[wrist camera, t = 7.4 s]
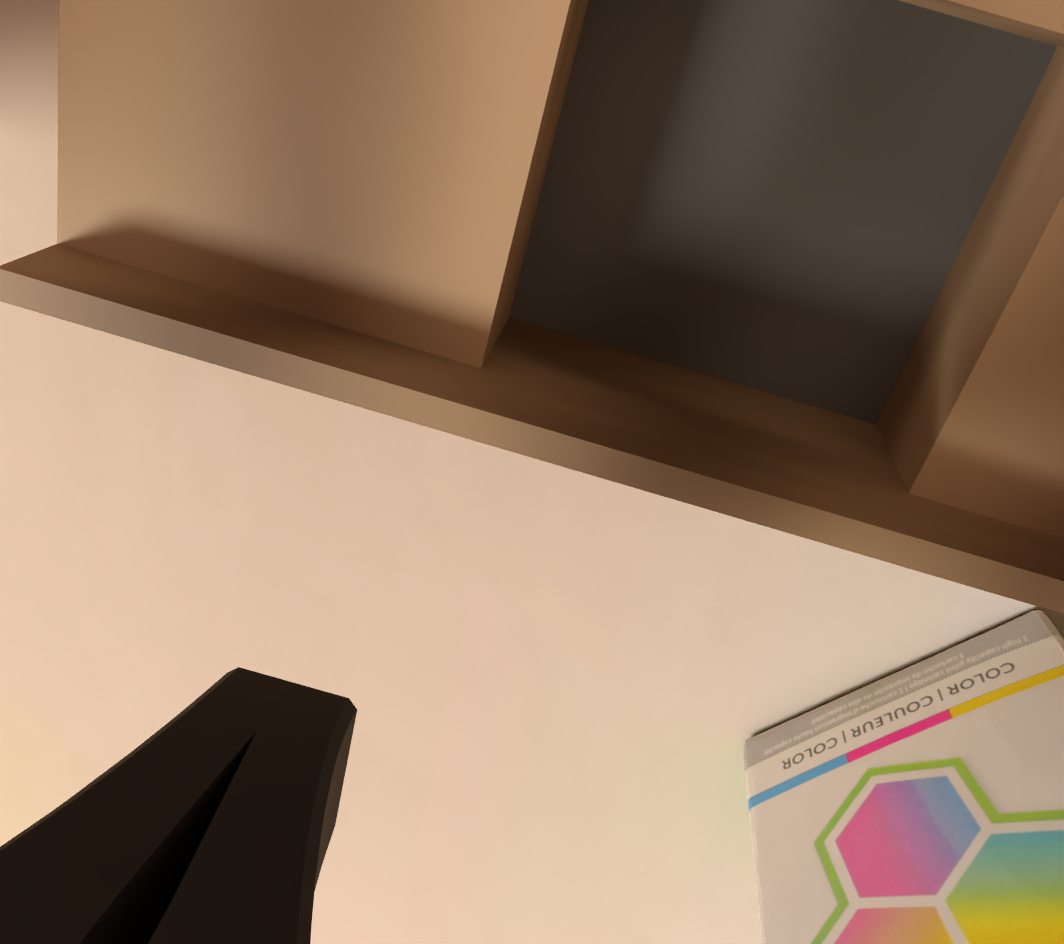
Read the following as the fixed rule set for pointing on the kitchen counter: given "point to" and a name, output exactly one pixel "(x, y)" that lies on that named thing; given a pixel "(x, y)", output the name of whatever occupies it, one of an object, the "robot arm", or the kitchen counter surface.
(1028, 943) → the ink box
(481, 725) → the kitchen counter surface
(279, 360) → the box
